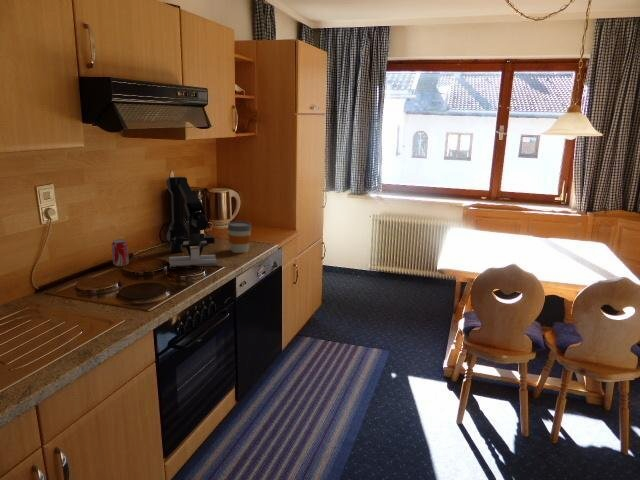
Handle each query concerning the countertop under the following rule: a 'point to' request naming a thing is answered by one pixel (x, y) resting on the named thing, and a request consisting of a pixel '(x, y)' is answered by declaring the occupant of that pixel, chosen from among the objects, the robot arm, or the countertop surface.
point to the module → (195, 253)
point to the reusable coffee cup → (239, 236)
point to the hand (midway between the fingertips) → (194, 257)
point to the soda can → (120, 252)
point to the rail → (193, 261)
